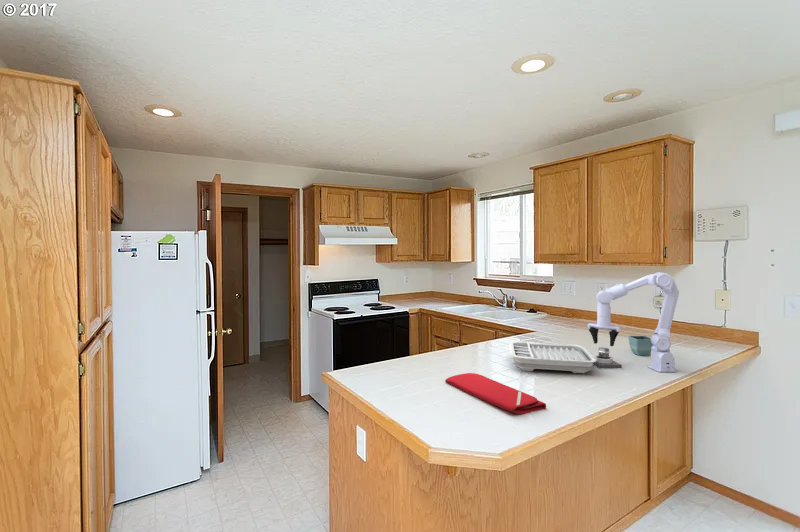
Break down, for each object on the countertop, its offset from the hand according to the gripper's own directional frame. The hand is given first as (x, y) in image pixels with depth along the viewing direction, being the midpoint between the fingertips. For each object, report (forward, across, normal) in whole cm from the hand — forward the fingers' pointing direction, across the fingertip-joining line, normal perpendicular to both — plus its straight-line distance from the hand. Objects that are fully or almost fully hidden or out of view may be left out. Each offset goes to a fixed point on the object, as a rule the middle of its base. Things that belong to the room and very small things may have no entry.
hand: (603, 344), depth 197 cm
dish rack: (+10, +16, +21) cm, 28 cm away
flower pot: (+10, -4, -33) cm, 35 cm away
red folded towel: (+10, +9, +73) cm, 74 cm away
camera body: (+10, 0, 0) cm, 10 cm away
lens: (+8, 0, 0) cm, 8 cm away
